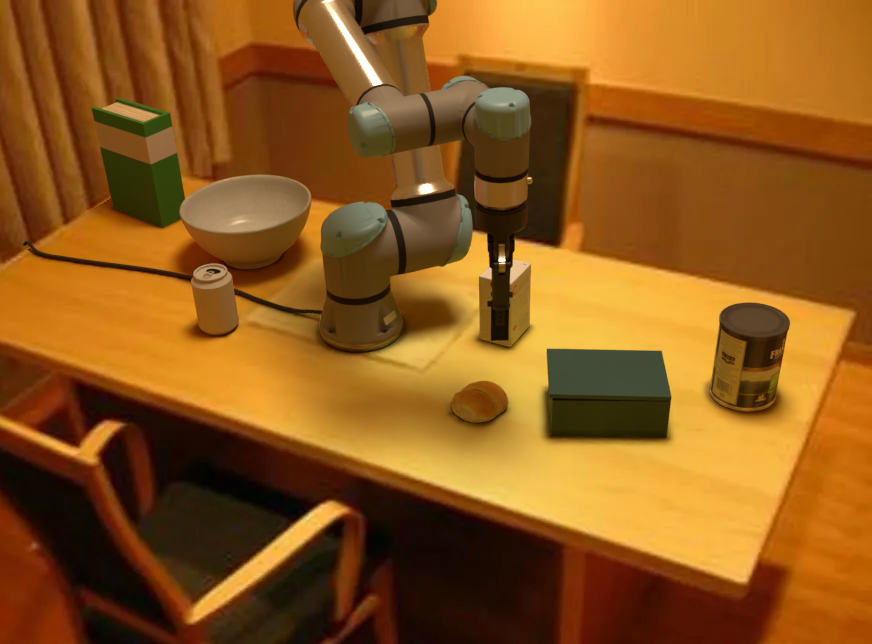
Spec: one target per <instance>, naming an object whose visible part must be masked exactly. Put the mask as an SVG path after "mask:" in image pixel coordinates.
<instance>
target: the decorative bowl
mask: <svg viewBox="0 0 872 644" xmlns="http://www.w3.org/2000/svg"><path fill="white" fill-rule="evenodd" d="M312 200H313V199H312V193H311V192H310V189H309V188H308V187H307V186H306V185H305V184H303V183H301V182H299V181H298V180H297V179H296V180H295V179H293V178H290V177H286V176H281V175H274V174H248V175H246V174H245V175H238V176H232V177H227V178H224V179H220V180H215V181H214V182H210V183H208V184H206V185H205V184H204V185H203V186H201V187H199V188H198V189H195V190H193V192H191V193H189V195H187V196H186V197H185V200H184V201H183V202H182V204H181V206H180V210H179V213H180V217H181V219H180V220H181V222H182V224H183V226H184V228H185V229H186V231H187V232H188V234H189V236H190V237H191V238H192V239H193V241H195V243H196V244H197V245H198V246H199V247H200V248H201V249H203V250H204V251H205V252H206V253H208V254H209V255H211V256H213V257H214V258H217V259H218V260H220V261H224V263H225V264H226V265H228V266H230V267H232V268H235V269H240V270H253V269H260V268H264V267H268V266H269V265H272V264H274V263H276V262H277V261H278V260H279V259H280V258H281V257H282V255H283V253H285V252H286V251H288V249H290V248H291V247H292V246H293V245H294V244H295V242H296V241H297V240H298V239H299V237H300V236H301V234H302V232H303V231H304V229H305V226H306V225H307V222H308V219H309V216H310V212H311V207H312V202H313V201H312Z"/></svg>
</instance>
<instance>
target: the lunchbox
mask: <svg viewBox="0 0 872 644" xmlns="http://www.w3.org/2000/svg"><path fill="white" fill-rule="evenodd" d="M547 389H548V391H547V392H548V393H549V387H548V388H547ZM671 403H672V400H671V401H647V400H607V399H566V398H549V397H548V406H549V407H548V408H549V409H548V410H549V422H550V423H549V426H550V436H558V437H559V436H563V437H564V436H567V437H569V436H570V437H573V436H575V437H635V438H637V437H639V438H640V437H642V438H643V437H645V438H648V437H649V438H667V437H668V430H669V421H670V412H671V405H672V404H671Z"/></svg>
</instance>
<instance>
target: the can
mask: <svg viewBox="0 0 872 644" xmlns="http://www.w3.org/2000/svg"><path fill="white" fill-rule="evenodd" d="M192 276H193V278H192V279H190V284H191V290H192V295H193V301H194V302H193V303H194V307H195V312H196V318H197V323H198V327H199V329H200V330H201V331H203V332H204V333H206V334H207V335H210V336H221V335H226V334H228V333H230V332H232V331H234V329H235V328H236V327H237V325H238V324H239V320H240V318H239V313H238V306H237V300H236V293H235V292H234V288H235V285H234V280H233V275H232V274H231V272H229V271H228V268H227V266H225V265H224V264H222V263H221V264H220V263H214V262H213V263H205V264H203V265H200V266H198V267H197V268H195V269H194V271H193V273H192Z"/></svg>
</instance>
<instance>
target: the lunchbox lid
mask: <svg viewBox="0 0 872 644" xmlns="http://www.w3.org/2000/svg"><path fill="white" fill-rule="evenodd" d="M546 365H547V369H546V370H547V382H548V383H547V385H548V387H549V392H548V399H549V398H566V399H607V400H647V401H671V402H672V393H671V387H670V384H669V378H668V373H667V369H666V364H665V360H664V354H663V351H662V350H648V349H647V350H645V349H644V350H643V349H636V350H635V349H595V348H594V349H592V348H591V349H590V348H589V349H587V348H546Z"/></svg>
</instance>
